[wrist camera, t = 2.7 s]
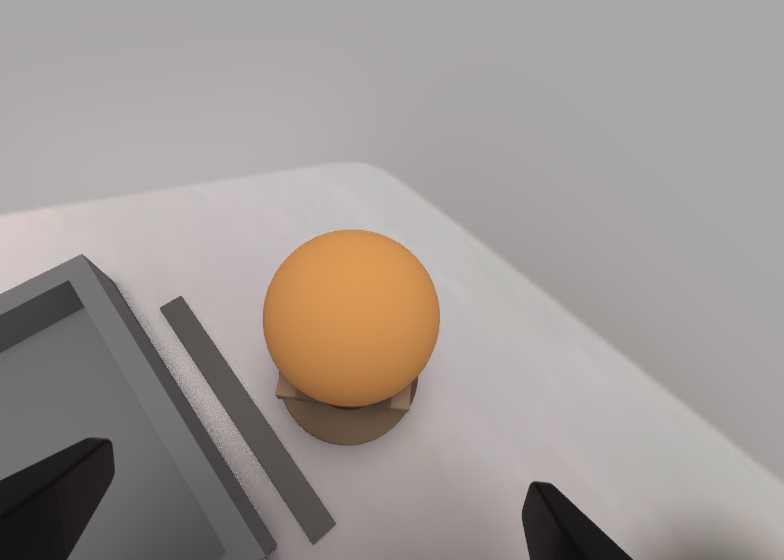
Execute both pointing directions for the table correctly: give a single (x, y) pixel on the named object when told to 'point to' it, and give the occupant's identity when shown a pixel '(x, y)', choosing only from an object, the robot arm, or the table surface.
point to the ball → (351, 318)
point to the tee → (345, 414)
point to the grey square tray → (116, 423)
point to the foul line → (249, 422)
